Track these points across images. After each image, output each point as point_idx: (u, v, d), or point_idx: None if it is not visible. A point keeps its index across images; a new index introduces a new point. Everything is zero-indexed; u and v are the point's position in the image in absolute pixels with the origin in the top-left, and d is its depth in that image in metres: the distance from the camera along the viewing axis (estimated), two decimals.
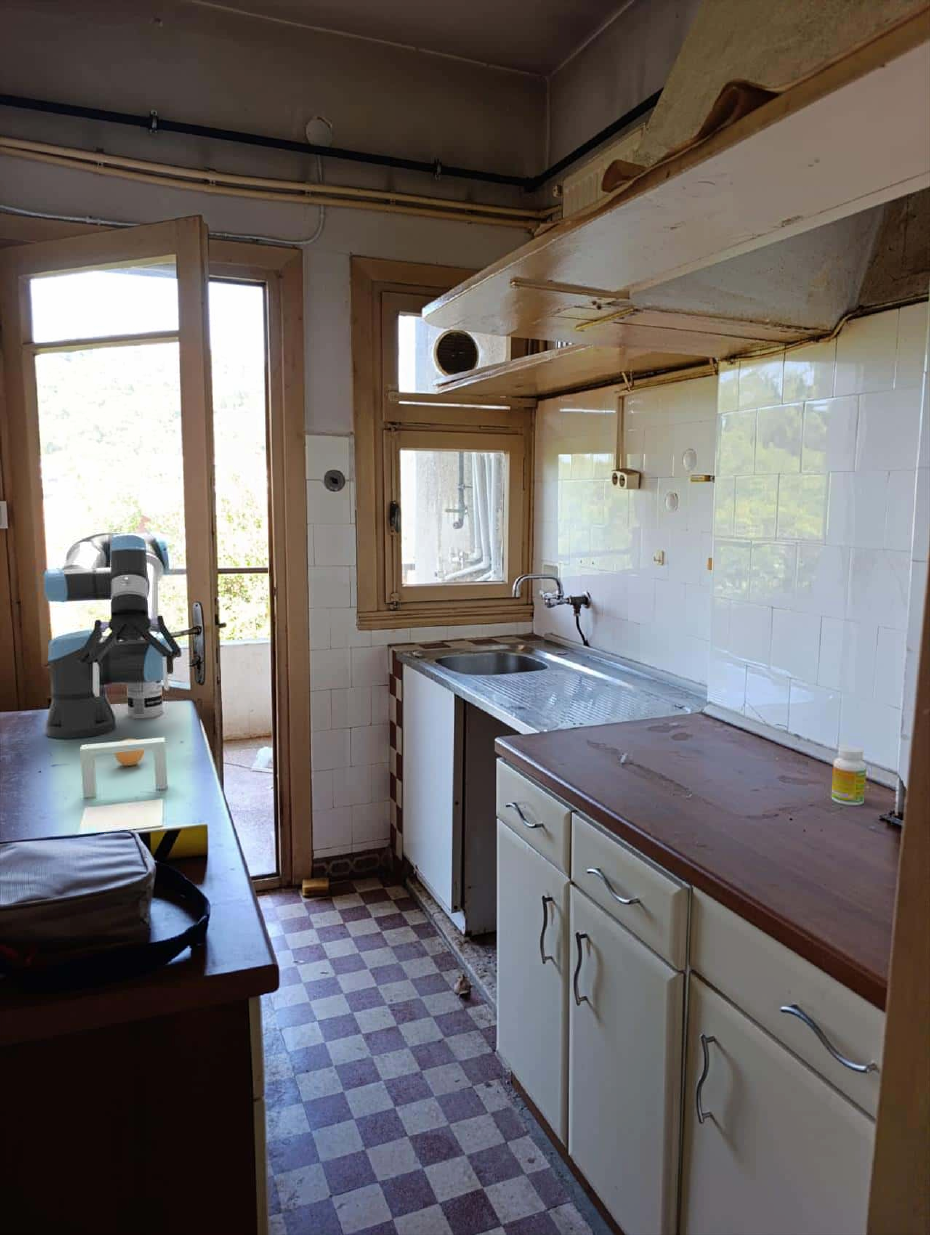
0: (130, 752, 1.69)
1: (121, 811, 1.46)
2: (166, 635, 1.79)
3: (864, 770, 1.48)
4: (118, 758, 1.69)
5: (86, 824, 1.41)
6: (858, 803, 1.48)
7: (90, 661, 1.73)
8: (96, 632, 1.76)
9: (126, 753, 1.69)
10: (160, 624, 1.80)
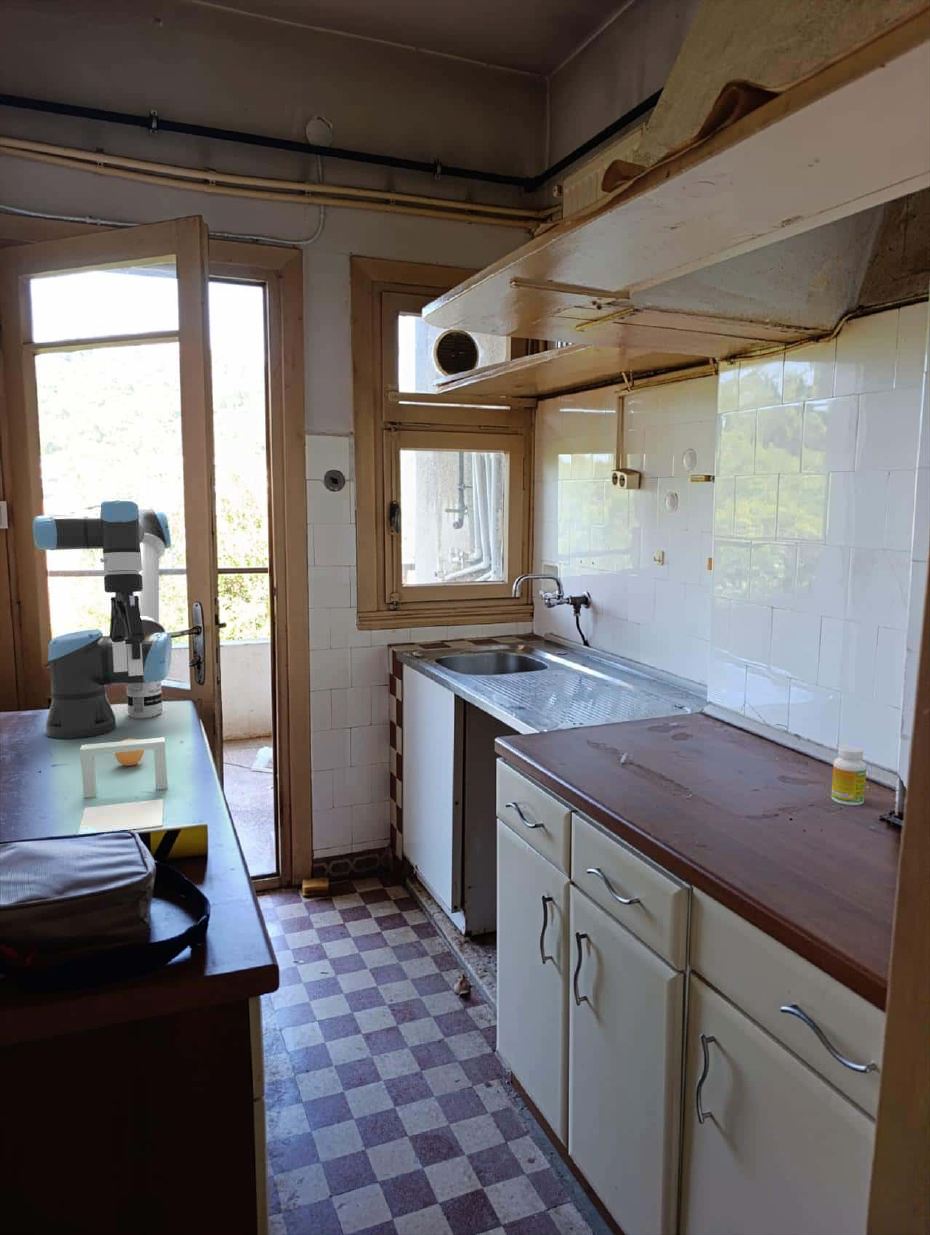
0: (130, 752, 1.69)
1: (121, 811, 1.46)
2: (127, 619, 1.70)
3: (864, 770, 1.48)
4: (118, 758, 1.69)
5: (86, 824, 1.41)
6: (858, 803, 1.48)
7: (112, 640, 1.83)
8: (112, 610, 1.82)
9: (126, 753, 1.69)
10: (125, 606, 1.71)
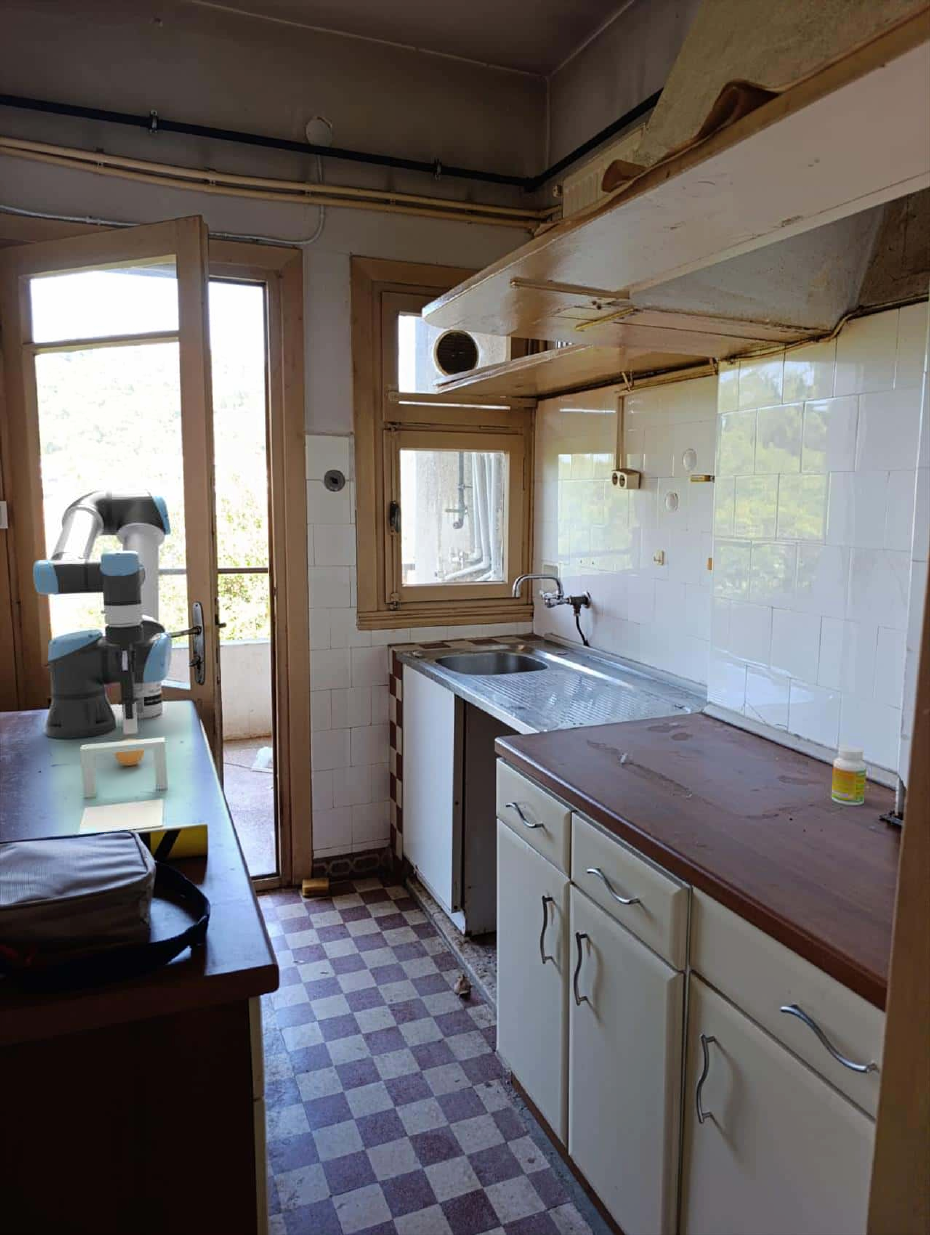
0: (130, 752, 1.69)
1: (121, 811, 1.46)
2: (120, 681, 1.74)
3: (864, 770, 1.48)
4: (118, 758, 1.69)
5: (86, 824, 1.41)
6: (858, 803, 1.48)
7: None
8: None
9: (126, 753, 1.69)
10: (119, 669, 1.73)
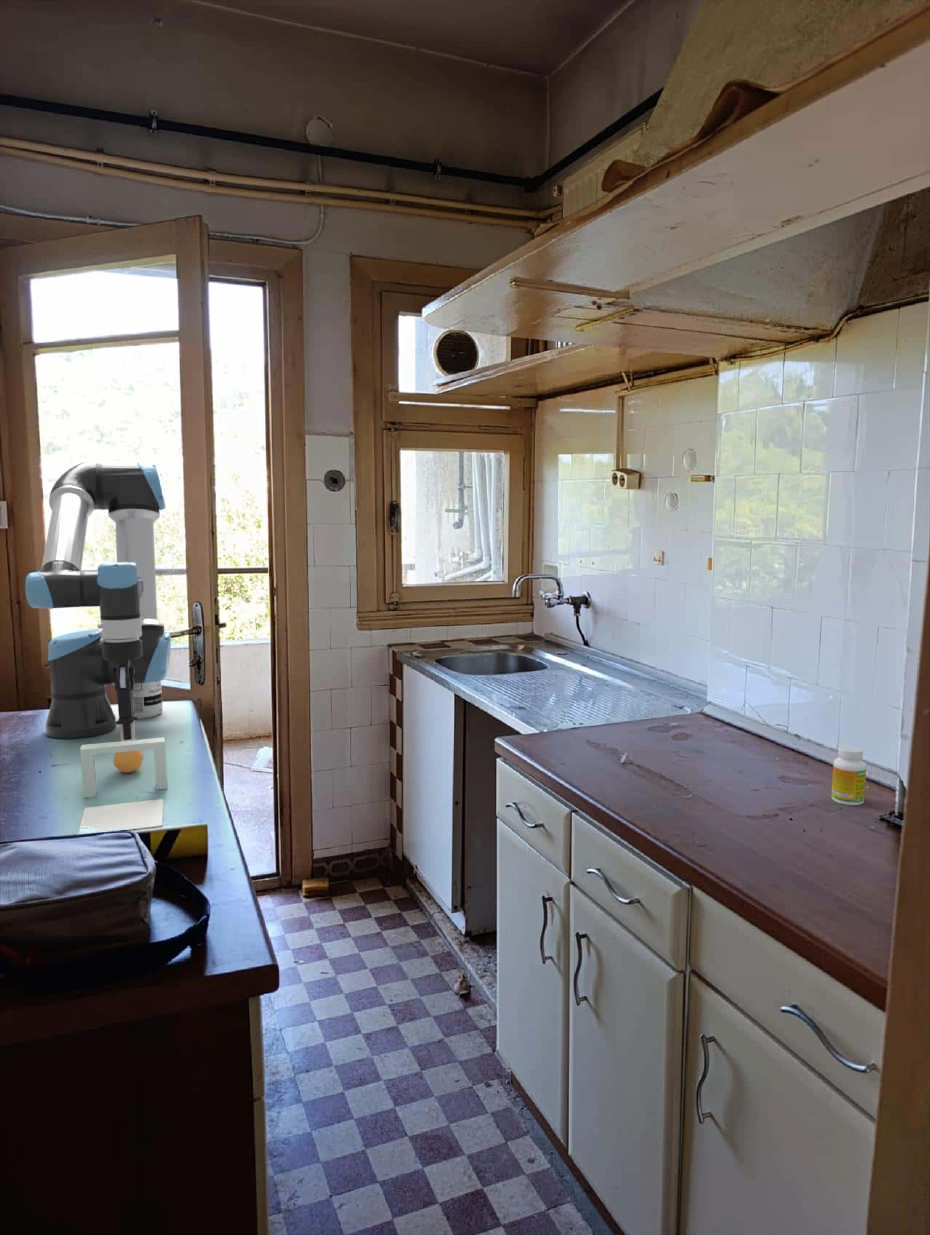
0: None
1: (121, 811, 1.46)
2: (118, 700, 1.65)
3: (864, 770, 1.48)
4: None
5: (86, 824, 1.41)
6: (858, 803, 1.48)
7: None
8: None
9: (126, 772, 1.67)
10: None
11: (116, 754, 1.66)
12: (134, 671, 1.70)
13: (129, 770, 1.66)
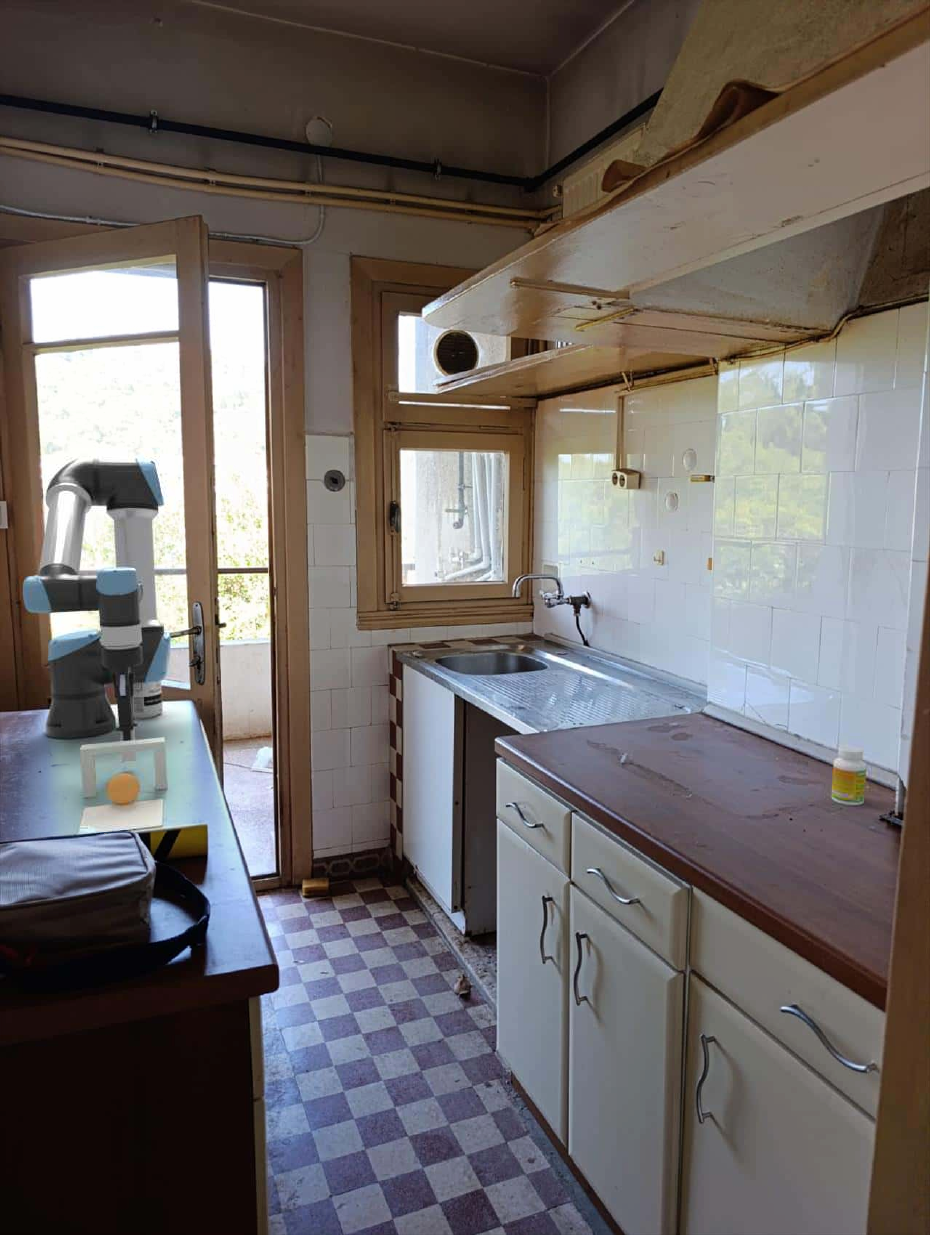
0: None
1: (121, 811, 1.46)
2: (117, 707, 1.63)
3: (864, 770, 1.48)
4: None
5: (86, 824, 1.41)
6: (858, 803, 1.48)
7: None
8: None
9: None
10: None
11: (110, 788, 1.48)
12: (134, 677, 1.68)
13: (125, 803, 1.50)
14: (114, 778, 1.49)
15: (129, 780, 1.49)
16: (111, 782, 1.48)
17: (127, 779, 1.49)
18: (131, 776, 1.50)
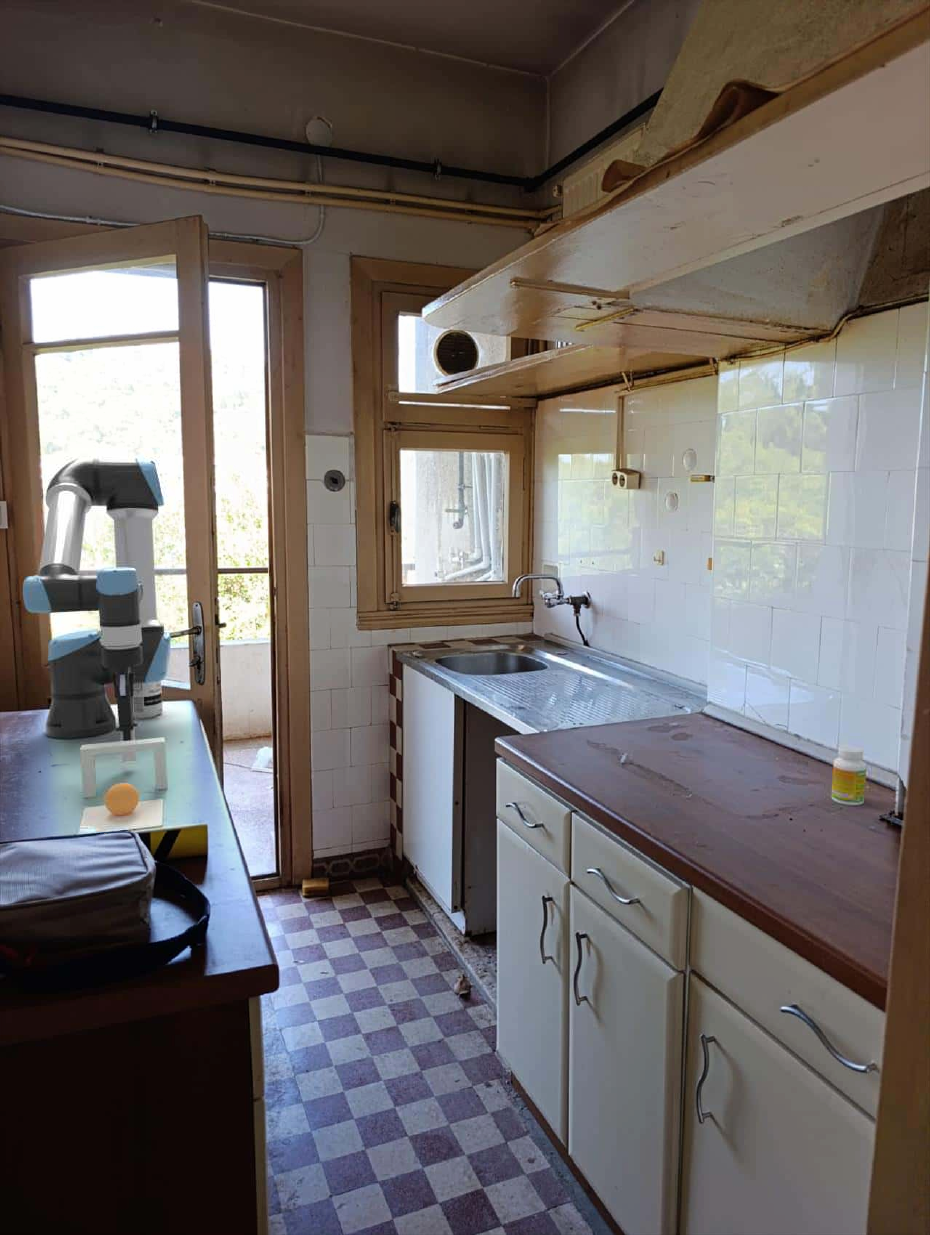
0: None
1: None
2: (117, 707, 1.63)
3: (864, 770, 1.48)
4: (108, 790, 1.45)
5: (86, 824, 1.41)
6: (858, 803, 1.48)
7: None
8: None
9: None
10: None
11: None
12: (134, 677, 1.68)
13: None
14: (113, 812, 1.43)
15: (129, 812, 1.45)
16: (110, 811, 1.44)
17: (127, 813, 1.44)
18: (131, 809, 1.44)
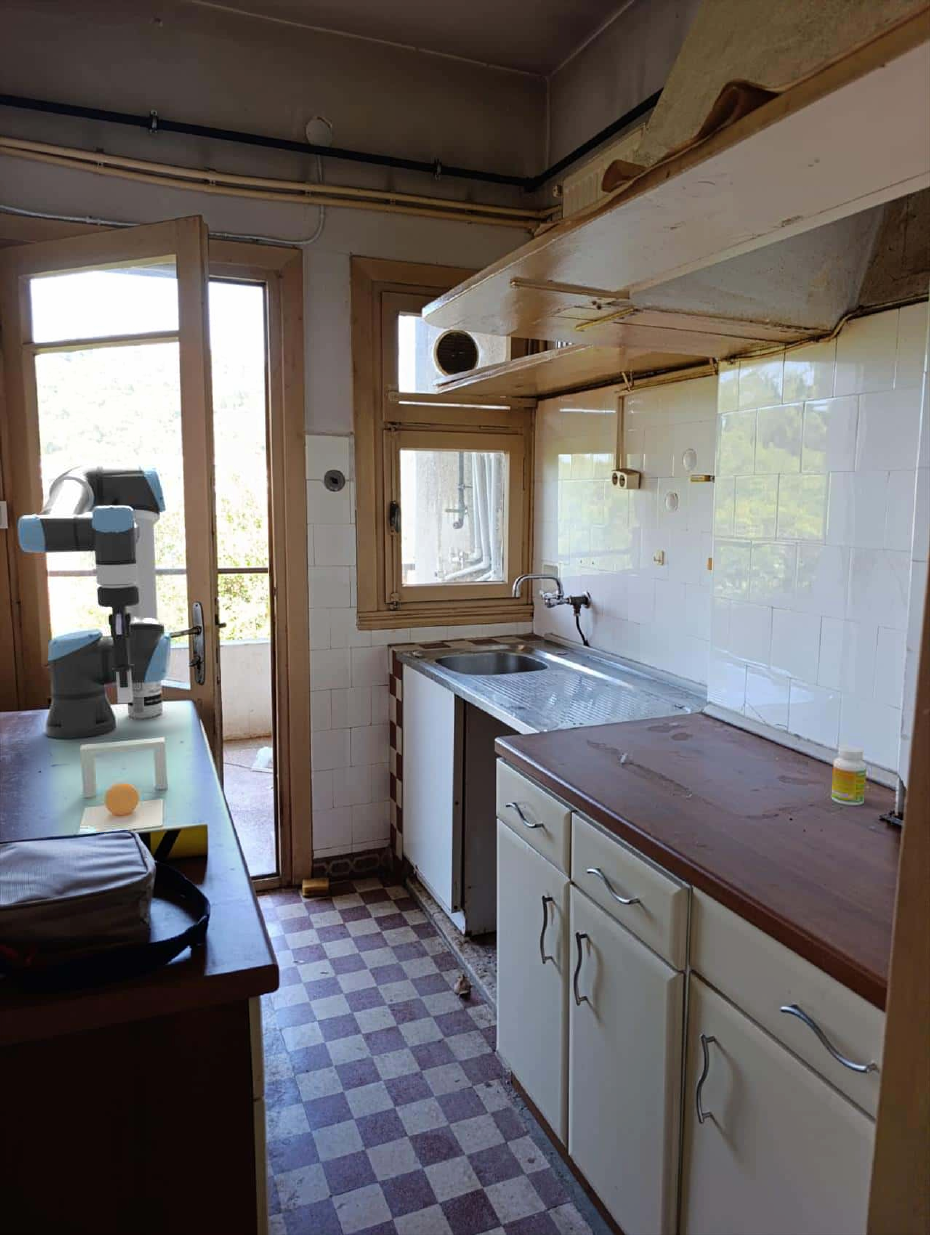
0: None
1: None
2: (114, 647, 1.62)
3: (864, 770, 1.48)
4: (108, 790, 1.45)
5: (86, 824, 1.41)
6: (858, 803, 1.48)
7: None
8: None
9: None
10: None
11: None
12: (130, 618, 1.66)
13: None
14: (113, 812, 1.43)
15: (129, 812, 1.45)
16: (110, 811, 1.44)
17: (127, 813, 1.44)
18: (131, 809, 1.44)
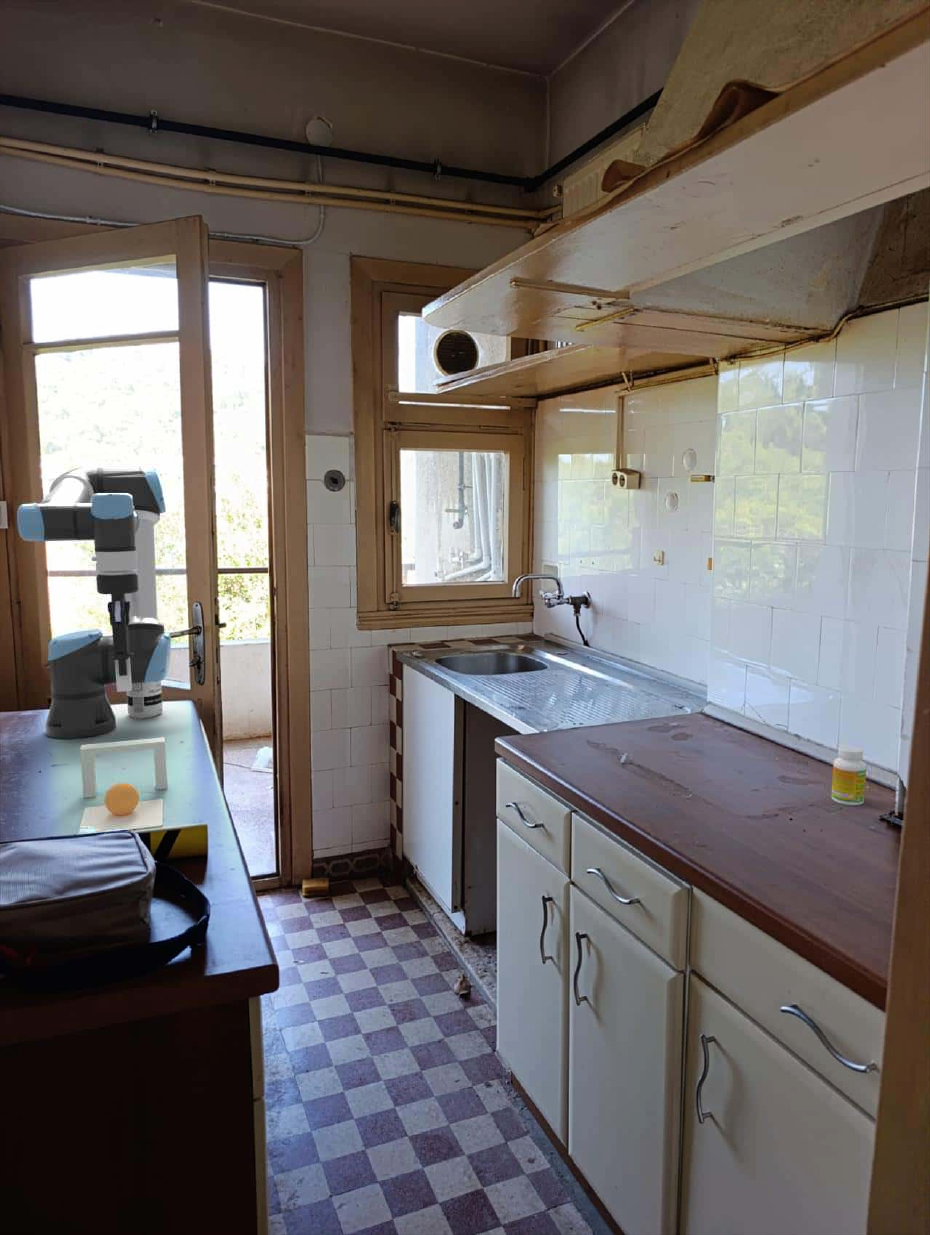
0: None
1: None
2: (113, 634, 1.61)
3: (864, 770, 1.48)
4: (108, 790, 1.45)
5: (86, 824, 1.41)
6: (858, 803, 1.48)
7: None
8: None
9: None
10: None
11: None
12: None
13: None
14: (113, 812, 1.43)
15: (129, 812, 1.45)
16: (110, 811, 1.44)
17: (127, 813, 1.44)
18: (131, 809, 1.44)
